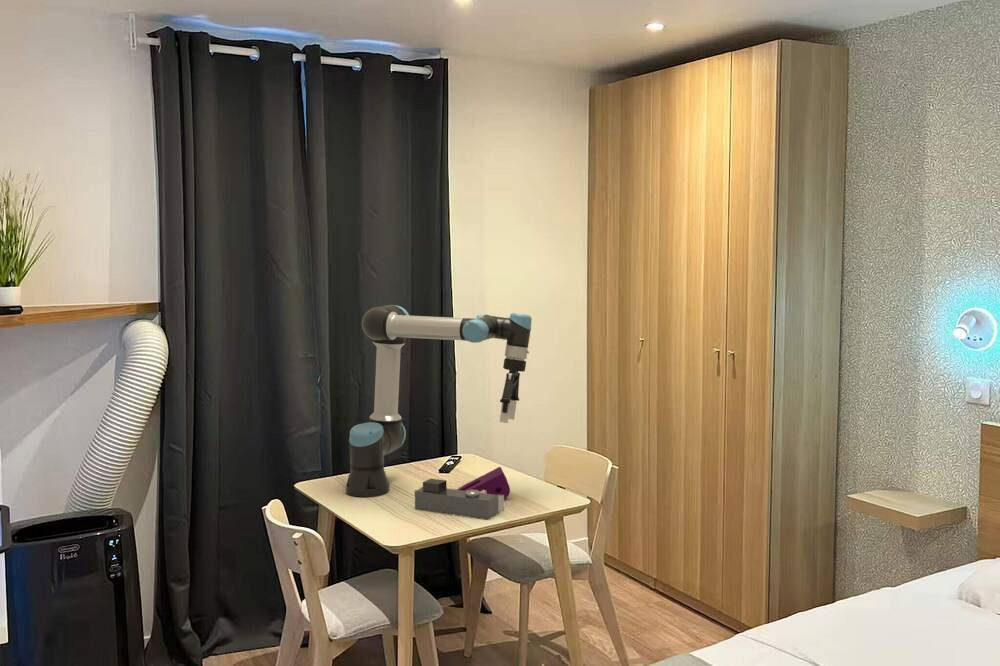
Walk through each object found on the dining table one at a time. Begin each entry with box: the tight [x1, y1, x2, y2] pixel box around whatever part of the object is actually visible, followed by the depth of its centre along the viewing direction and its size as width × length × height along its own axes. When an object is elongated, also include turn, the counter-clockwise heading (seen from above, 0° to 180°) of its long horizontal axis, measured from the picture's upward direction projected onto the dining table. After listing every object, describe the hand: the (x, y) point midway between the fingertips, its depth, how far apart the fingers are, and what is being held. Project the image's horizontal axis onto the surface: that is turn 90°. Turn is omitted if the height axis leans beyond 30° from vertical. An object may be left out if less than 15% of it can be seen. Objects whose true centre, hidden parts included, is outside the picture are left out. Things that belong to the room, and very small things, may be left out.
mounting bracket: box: [456, 466, 511, 501], centre depth 299 cm, size 9×8×18 cm
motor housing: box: [414, 478, 505, 520], centre depth 285 cm, size 27×11×9 cm, turn 63°
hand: (507, 420), depth 298 cm, fingers open, 13 cm apart
